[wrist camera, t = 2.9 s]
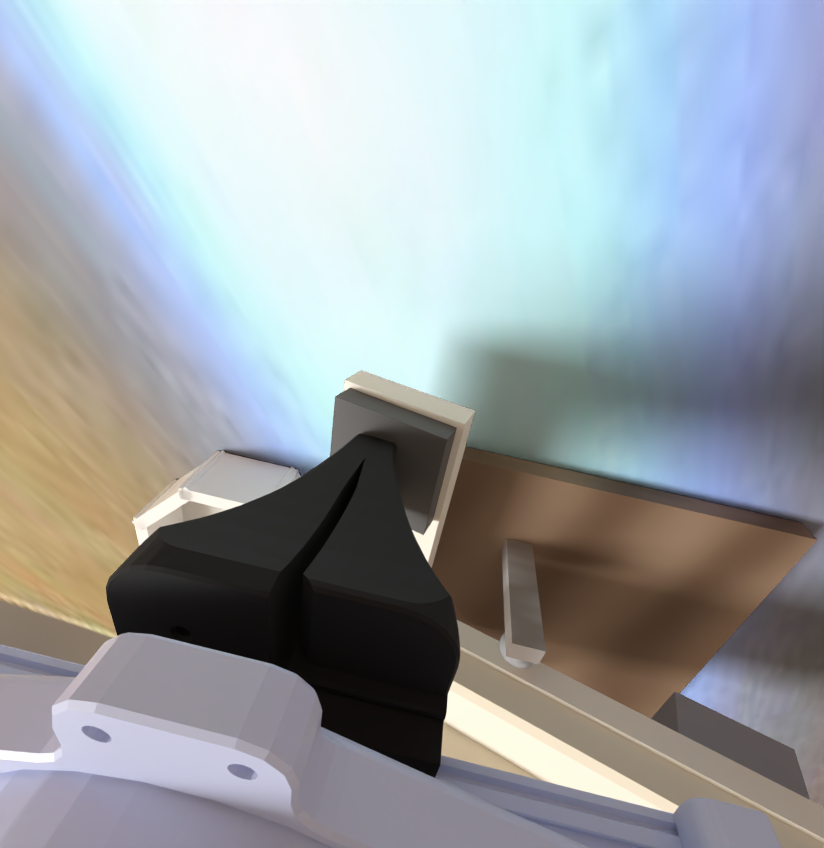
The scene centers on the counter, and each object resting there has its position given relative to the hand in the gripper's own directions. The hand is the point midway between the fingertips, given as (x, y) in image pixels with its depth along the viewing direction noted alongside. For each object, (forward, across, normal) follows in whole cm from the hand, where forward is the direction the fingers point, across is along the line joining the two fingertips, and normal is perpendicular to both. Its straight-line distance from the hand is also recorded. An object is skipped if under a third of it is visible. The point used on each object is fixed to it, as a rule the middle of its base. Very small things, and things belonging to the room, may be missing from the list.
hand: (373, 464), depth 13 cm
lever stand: (+5, -9, +9) cm, 14 cm away
